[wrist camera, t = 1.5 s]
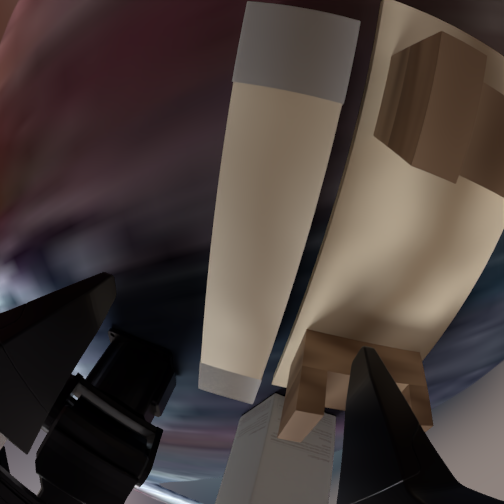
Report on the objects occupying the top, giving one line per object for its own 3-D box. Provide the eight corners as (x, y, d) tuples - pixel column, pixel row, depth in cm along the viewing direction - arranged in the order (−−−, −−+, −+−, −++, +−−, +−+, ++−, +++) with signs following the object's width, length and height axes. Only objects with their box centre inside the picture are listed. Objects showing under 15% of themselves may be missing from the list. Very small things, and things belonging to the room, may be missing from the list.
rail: (220, 335, 22) (198, 388, 17) (271, 30, 11) (247, 1, 7) (267, 348, 21) (252, 404, 17) (346, 46, 11) (360, 21, 6)
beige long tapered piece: (273, 374, 23) (255, 450, 17) (380, 2, 9) (422, -57, 3) (383, 395, 22) (385, 466, 16) (534, 86, 8) (616, 104, 2)
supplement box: (238, 416, 28) (205, 521, 17) (276, 390, 24) (243, 524, 13) (295, 438, 28) (275, 536, 18) (339, 416, 24) (326, 536, 14)
